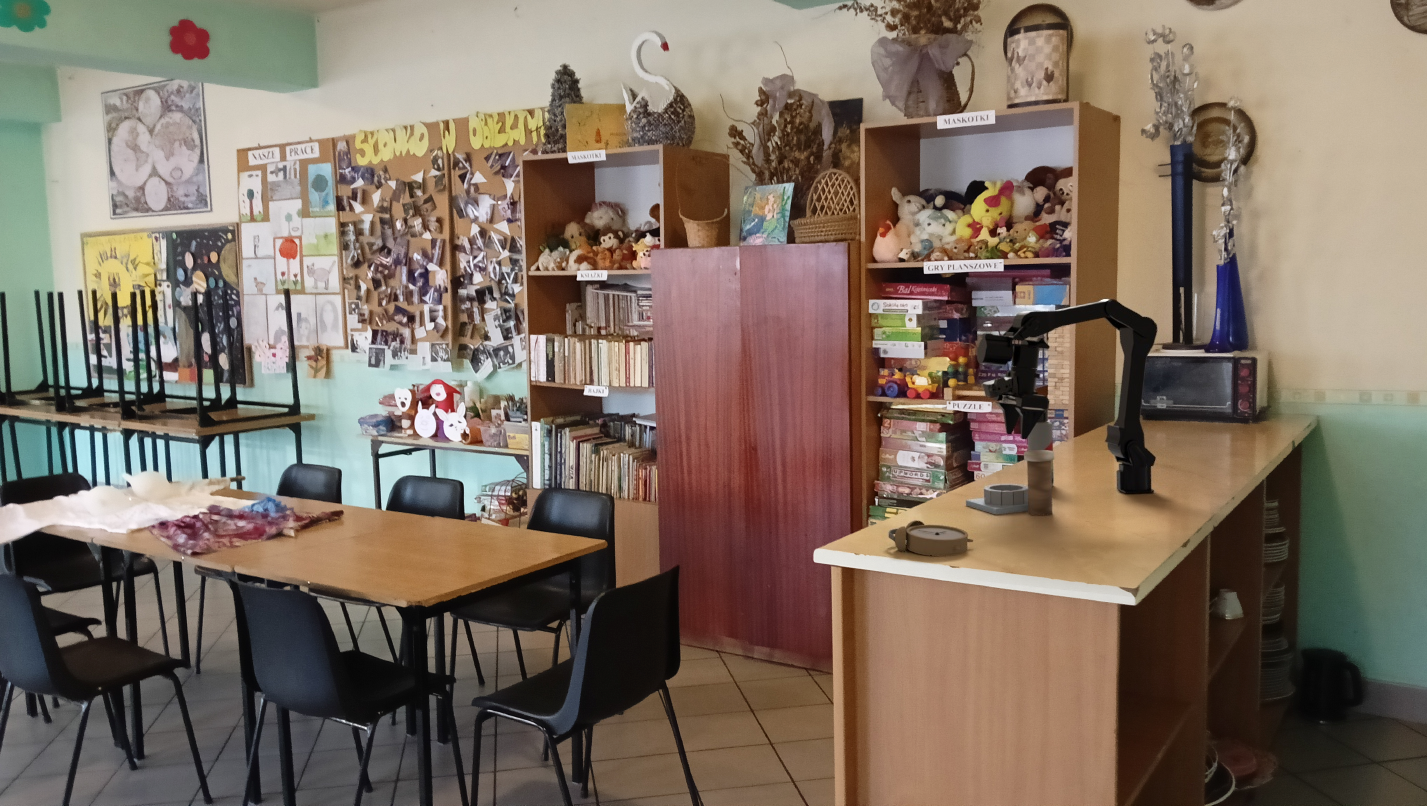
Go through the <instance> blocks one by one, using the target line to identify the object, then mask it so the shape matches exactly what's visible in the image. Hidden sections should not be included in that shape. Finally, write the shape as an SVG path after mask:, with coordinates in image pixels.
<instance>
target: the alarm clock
mask: <svg viewBox="0 0 1427 806" xmlns="http://www.w3.org/2000/svg"><path fill="white" fill-rule="evenodd" d="M888 538H889V539H890V540H892V541H893V542H894V544H895V547H896V549H897V550H899V551H900V550H901V551H900V552H904V551H905V552H906V549H907V550H908V551H910V552H912V553H915V554H919V555H923V556H930V555H932V557H950V556H956V555H962V554H964V553H966V552H967V551H968V543H973V542H974V539H971V538H969V533H968V532H967V531H965V530H964V529H961V528H958V527H954V526H949V525H943V524H925V523H924V522H923V521H921V520H912V521H910V522H909V523H908V524H907V525H906V526H905V525H903V526H900V527H898V528H892V529H890V530H889V531H888Z"/></svg>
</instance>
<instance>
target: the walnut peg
mask: <svg viewBox="0 0 1427 806" xmlns="http://www.w3.org/2000/svg"><path fill="white" fill-rule="evenodd" d="M1023 459H1024V461H1026V465H1027V466H1026V468H1027V469H1026V472H1027V486H1028V511H1027V513H1028V514H1029V515H1031V516H1038V517H1039V516H1040V517H1046V516H1051V515H1053V488H1052V487H1053V486H1052V476H1051V460H1053V461H1054V460H1055V451H1054V450H1053V451H1048V450H1031V451H1028V450H1026V451H1024V452H1023Z"/></svg>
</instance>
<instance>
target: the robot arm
mask: <svg viewBox="0 0 1427 806" xmlns="http://www.w3.org/2000/svg"><path fill="white" fill-rule="evenodd" d="M1099 319H1100V320H1101V319H1105V321H1106V322H1108V323H1109V324H1110V325H1111V326H1112V327H1113V328H1114V329H1116V330H1117V331H1119V343H1120V347H1121V349H1122V352H1123V363H1122V364H1123V365H1122V374H1121V383H1120V393H1119V403H1118V411H1117V412H1118V413H1117V418H1116V420H1115V422H1114V423H1113V425H1112V424H1107V426H1106V439H1105V440H1104V443H1107V449H1108V450H1109V452H1110V453H1111V455H1113V456H1114V458H1115V462H1117V463H1118V469H1117V470H1116V490H1118V491H1120V492H1122V493H1124V494H1144V493H1146V494H1148V493H1155V489H1153V488H1152V467H1154V465H1155V462H1156V459H1157V457H1156V456H1155V455H1154V454H1153V453H1152V452H1151V450H1149V449H1148V448H1147V447H1146V441H1145V433H1144V428H1143V426H1142V423H1141V412H1142V405H1143V404H1142V403H1143V395H1144V393H1143V392H1144V387H1145V386H1144V384H1145V376H1146V374H1145V373H1146V367H1147V366H1146V365H1147V358H1148V356H1149V354H1150V352H1151V350H1152V349H1153V347H1154V344H1155V343H1156V342H1155V341H1156V338H1157V335H1158V324H1157V323H1156V322H1155V320H1154V319H1152V318H1151V317H1149V316H1143V315H1141V314H1140V313H1138V312H1136V311H1135V310H1132V309H1131V308H1129V307H1127V306H1125V305H1123V304H1122V303H1121V302H1119V300H1117V299H1115V298H1106V299H1101V300H1099V301H1095V302H1090V303H1089V302H1088V303H1085V304H1080V305H1074V306H1070V307H1065V308H1060V309H1054V310H1028V311H1026V310H1025V311H1021V312H1018V313H1017V314H1016V315H1015V316H1014V317H1013V319H1012V324H1011V325H1010V326H1009V328H1007V329H1006V331H1005V332H1004V333H1003V334H1002V335H997V334H993V333H982V338H981V340H980V341H979V344H978V347H977V349H976V359H977V362H978V363H979V364H980V365H981V364H982V365H983V364H984V365H994V366H1003V367H1004V366H1007V364H1008V362H1009V363H1010V362H1011V363H1010V370H1009V369H1008V370H1007V371H1005V377H1002V376H1001V377H1000V378H994V379H992V380H989V381H985V382H982V387H983V390H984V395H985V396H984V397H986V398H990V399H993V401H995V404H996V405H997V406H998V407H999V409H1001V411H1002V414H1003V415H1002V416H1003V421H1004V426H1005V432H1006V435H1009V436H1011V435H1012V434H1013V432H1014V430H1015V428H1016V426H1017V423H1018V421H1019V418H1020V438H1021V440H1028V436H1029V434H1030V433H1031V431H1032V430H1033V428H1034V426H1035V425H1036V423H1037V422H1038V420H1039V419H1040V417H1041V416H1042V415H1043V413H1045V411H1046V410H1042V409H1048V410H1050V408H1049V407H1050V399H1049V398H1048V397H1047V395H1043V394H1038V393H1039V392H1038V391H1036V384H1037V379H1040V377H1041V374H1040V373H1039V372H1038V366H1039V358H1040V349H1043V350H1044V349H1047V350H1049V349H1050V345H1049V344H1048V343H1047V342H1046V341H1045V339H1044V337H1041V336H1043V335H1046V334H1048V333H1050V332H1052V331H1055V330H1056V329H1058V328H1061V327H1066V326H1069V325H1075V324H1079V323H1085V322H1090V321H1094V320H1095V321H1096V320H1099ZM1037 337H1038V338H1037ZM1028 338H1037V339H1036V340H1033V339H1032V340H1031V339H1028ZM1013 341H1020V343H1013Z"/></svg>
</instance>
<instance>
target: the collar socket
mask: <svg viewBox="0 0 1427 806" xmlns="http://www.w3.org/2000/svg"><path fill="white" fill-rule="evenodd" d="M965 506H967V507H970V508H974V509H977V510H979V511H981V512H982V511H983V512H986V513H990V514H993V515H995V516H996V515H1002V514H1010V513H1011V514H1012V513H1021V512H1028V485H1024V484H1020V483H1019V484H1016V483H998V484H996V483H995V484H989V485H986V486H983V497H982V498H974V499H973V498H971V499H966V500H965Z"/></svg>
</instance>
